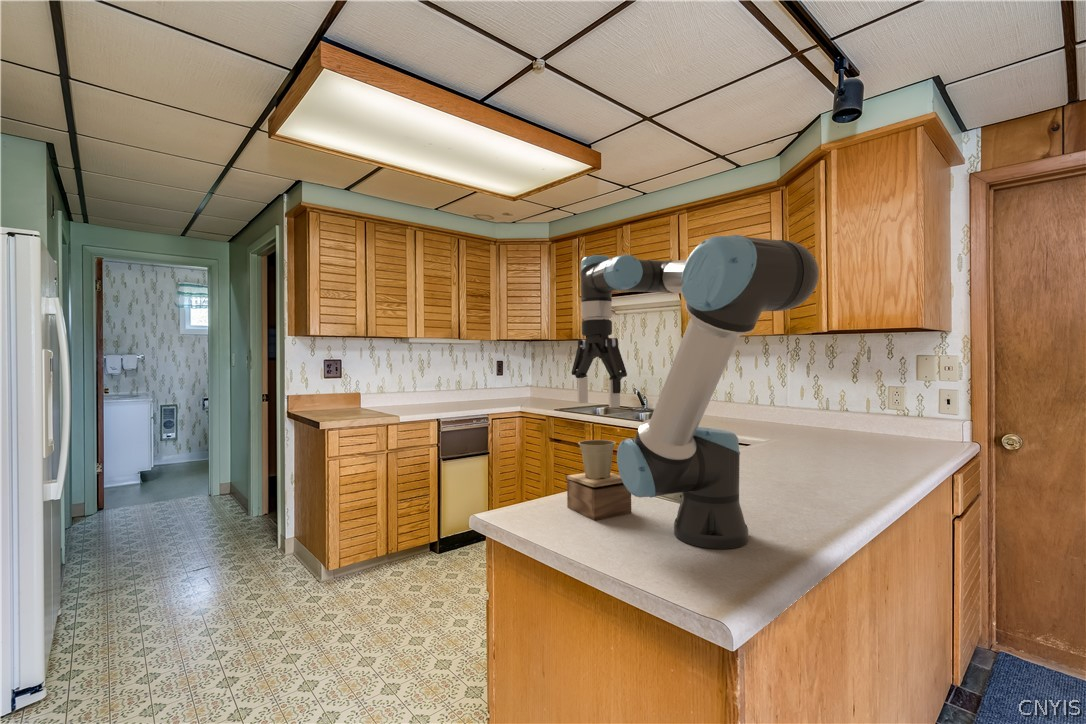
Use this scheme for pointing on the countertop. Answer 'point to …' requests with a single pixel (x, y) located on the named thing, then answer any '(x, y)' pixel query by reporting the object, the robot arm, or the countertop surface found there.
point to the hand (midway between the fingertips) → (597, 405)
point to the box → (598, 500)
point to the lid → (595, 480)
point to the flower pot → (597, 457)
